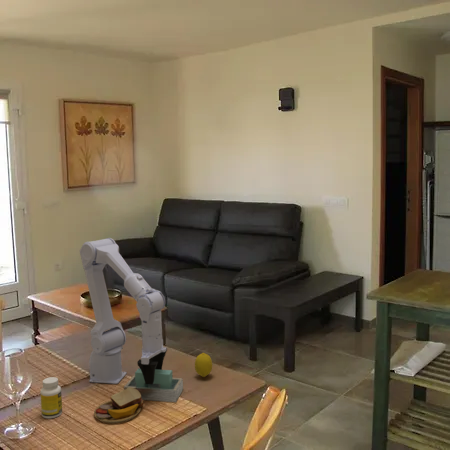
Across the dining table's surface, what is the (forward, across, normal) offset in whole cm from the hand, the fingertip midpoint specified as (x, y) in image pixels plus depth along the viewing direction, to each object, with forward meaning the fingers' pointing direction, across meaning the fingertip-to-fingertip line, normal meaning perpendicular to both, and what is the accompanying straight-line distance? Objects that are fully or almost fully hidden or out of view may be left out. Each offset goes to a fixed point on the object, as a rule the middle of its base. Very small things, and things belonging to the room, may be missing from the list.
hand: (153, 378), depth 153 cm
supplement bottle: (+5, -16, +24) cm, 29 cm away
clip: (+4, 0, 0) cm, 4 cm away
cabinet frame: (+5, 0, 0) cm, 5 cm away
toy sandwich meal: (+5, -12, +6) cm, 14 cm away
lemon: (+5, +14, -12) cm, 19 cm away
